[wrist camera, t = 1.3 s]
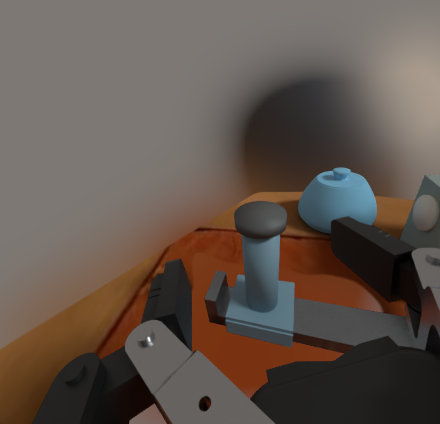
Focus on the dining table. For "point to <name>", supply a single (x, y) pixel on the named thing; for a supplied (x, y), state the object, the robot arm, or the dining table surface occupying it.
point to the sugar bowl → (337, 200)
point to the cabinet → (424, 216)
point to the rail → (320, 321)
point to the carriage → (261, 277)
